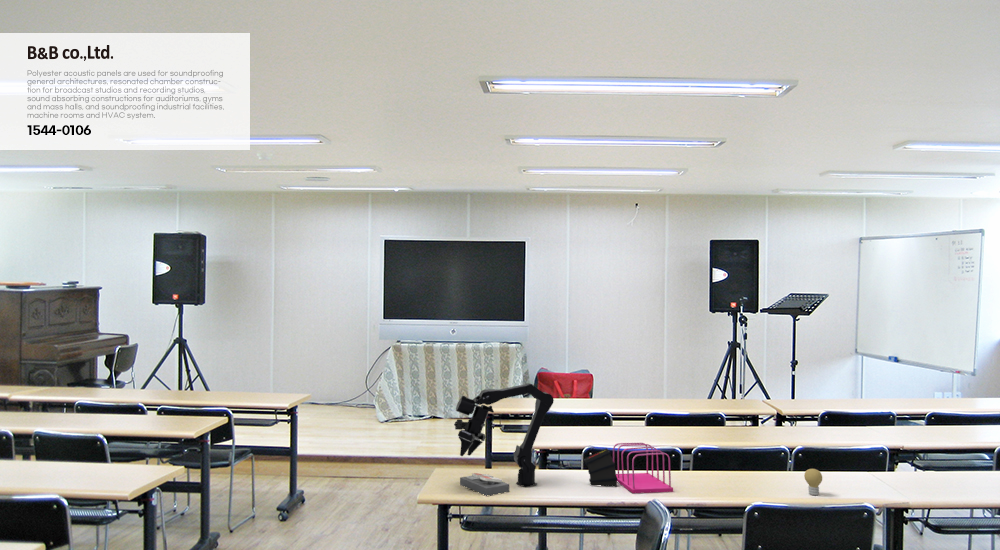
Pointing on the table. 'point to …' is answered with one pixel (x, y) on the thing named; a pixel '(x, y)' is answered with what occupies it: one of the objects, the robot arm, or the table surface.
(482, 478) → the rocker
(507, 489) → the rocker switch panel
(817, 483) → the light bulb
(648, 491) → the file sorter
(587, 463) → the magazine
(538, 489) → the table surface
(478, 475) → the rocker
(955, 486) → the table surface
